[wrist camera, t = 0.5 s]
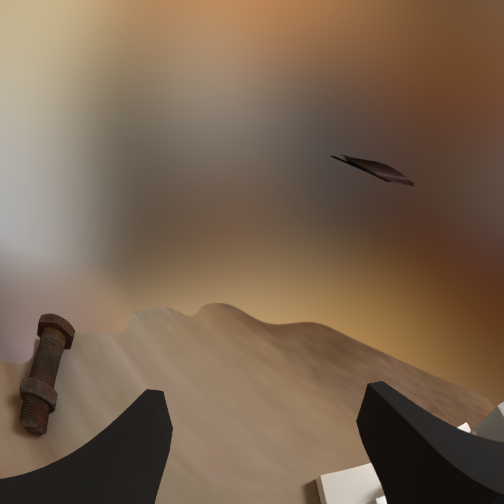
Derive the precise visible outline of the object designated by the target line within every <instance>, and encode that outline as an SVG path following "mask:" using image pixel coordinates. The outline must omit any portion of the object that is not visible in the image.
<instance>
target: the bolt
mask: <svg viewBox="0 0 504 504" xmlns="http://www.w3.org/2000/svg"><path fill="white" fill-rule="evenodd" d="M74 334H75V330H74V328H73V327H72V325H71V324H70V323H69V322H68V321H67V320H66V319H64V318H62V317H60V316H58V315H55V314H45V315H41V317H40V319H39V323H38V332H37V335H38V336H39V337H40V343H39V347H38V350H37V352H36V355H35V358H34V362H33V365H32V369H31V372H30V376H29V377H27V378H23V379H22V382H21V385H20V396H21V398H22V399H23V404H22V409H21V410H22V411H21V414H20V420H19V421H20V425H21V426H24V427H25V429H26V431H28V432H30V433H34V434H38V435H42V434H45V433H46V431H47V423H48V417H49V416H48V415H49V412H53V411H55V406H56V400H57V393H56V391H55V390H54V385H55V380H56V376H57V371H58V367H59V363H60V359H61V356H62V353H63V351H64V349H70V348H71V345H72V341H73V338H74Z"/></svg>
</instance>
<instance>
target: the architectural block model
mask: <svg viewBox="0 0 504 504" xmlns="http://www.w3.org/2000/svg"><path fill="white" fill-rule="evenodd" d="M458 428H459V429H461V430H463V431H466V432H468V433H471V434H474V435H476V436H480V437H483V438H486V439H490V440H494V441H499V442H504V402H503V403H501V404H500V405H499V406H497V407H496V408H495V409H494V410H493V411H492V412H491V413H490V414H489V415H488V416H487V417H486V418H485V419H484V420H483V421H482V422H481V423H479V424H478V425H477V426H476V427H475V428H474V429H473V430H470V428H469V426H468V424H467V423H465V424H463V425H461V426H459V427H458ZM316 483H317V487H318V492H319V497H320V501H321V504H366V503H368V502H370V501H372V500H375V499H377V498H380V497H383V496H385V494H384V491H383V489H382V486H381V483H380V481H379V479H378V477H377V475H376V472H375V470H374V468H373V466H372V463H369V464H366V465H362V466H359V467H355V468H351V469H347V470H343V471H339V472H335V473H330V474H325V475H320V476H319V477H318V478H317V479H316Z"/></svg>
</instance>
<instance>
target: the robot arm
mask: <svg viewBox="0 0 504 504" xmlns="http://www.w3.org/2000/svg"><path fill="white" fill-rule="evenodd" d="M356 422H357V426H358V429H359V433H360V436H361V440H362V443H363V445H364V448H365V450H366V452H367V454H368V457H369V459H370V461H371V463H372V466H373V468H374V470H375V472H376V475H377V477H378V479H379V481H380V483H381V486H382V489H383V491H384V494H385V498H386V502H387V504H504V442H499V441H494V440H490V439H486V438H483V437H480V436H476V435H474V434H471V433H468V432H466V431H463V430H461V429H459V428H456V427H454V426H452V425H450V424H448V423H446V422H444V421H443V420H441V419H439V418H437V417H436V416H434V415H432V414H431V413H429V412H427V411H426V410H424V409H423V408H421V407H420V406H418V405H416V404H415V403H414V402H412V401H411V400H409V399H408V398H406V397H405V396H403V395H402V394H401V393H399V392H398V391H396V390H395V389H393V388H392V387H391V386H389V385H388V384H386V383H385V382H383V381H380V382H374V383H369V384H368V385H367V388H366V392H365V395H364V399H363V402H362V405H361V408H360V411H359V414H358V417H357V420H356ZM172 431H173V427H172V424H171V420H170V416H169V412H168V408H167V404H166V400H165V396H164V392H163V391H159V390H150V389H147V390H146V391H144V392H143V393H142V394H141V395H140V396H139V397H138V398H137V399H136V400H135V401H134V402H133V403H132V404H131V405H130V406H129V407H128V408H127V409H126V410H125V411H124V412H123V413H122V414H121V415H120V416H119V417H118V418H117V419H116V420H114V421H113V422H112V423H111V424H110V425H109V426H108V427H107V428H105V429H104V430H103V431H102V432H100V433H99V434H98V435H97V436H95V437H94V438H93V439H92V440H90V441H89V442H88V443H86V444H85V445H83V446H82V447H80V448H79V449H77V450H76V451H74V452H73V453H71V454H69V455H68V456H66V457H64V458H62V459H60V460H58V461H56V462H54V463H52V464H49V465H47V466H45V467H43V468H40V469H37V470H35V471H32V472H29V473H25V474H22V475H18V476H14V477H9V478H4V479H0V504H155V500H156V496H157V492H158V489H159V485H160V482H161V478H162V475H163V472H164V468H165V465H166V461H167V458H168V454H169V451H170V444H171V438H172Z"/></svg>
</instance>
